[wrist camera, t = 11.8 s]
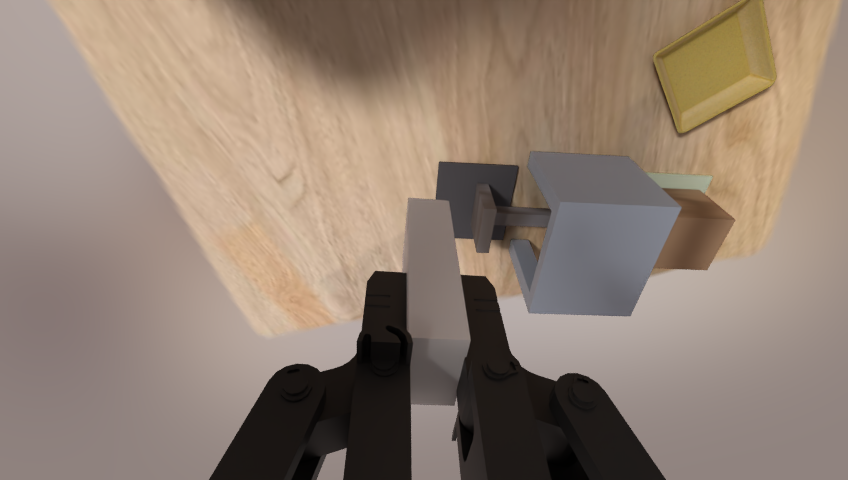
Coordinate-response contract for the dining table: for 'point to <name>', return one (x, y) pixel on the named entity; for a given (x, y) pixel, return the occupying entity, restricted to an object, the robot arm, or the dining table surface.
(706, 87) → the yellow tray
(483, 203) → the push rod
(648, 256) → the tunnel
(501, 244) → the dining table surface
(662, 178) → the pad
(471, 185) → the mat
